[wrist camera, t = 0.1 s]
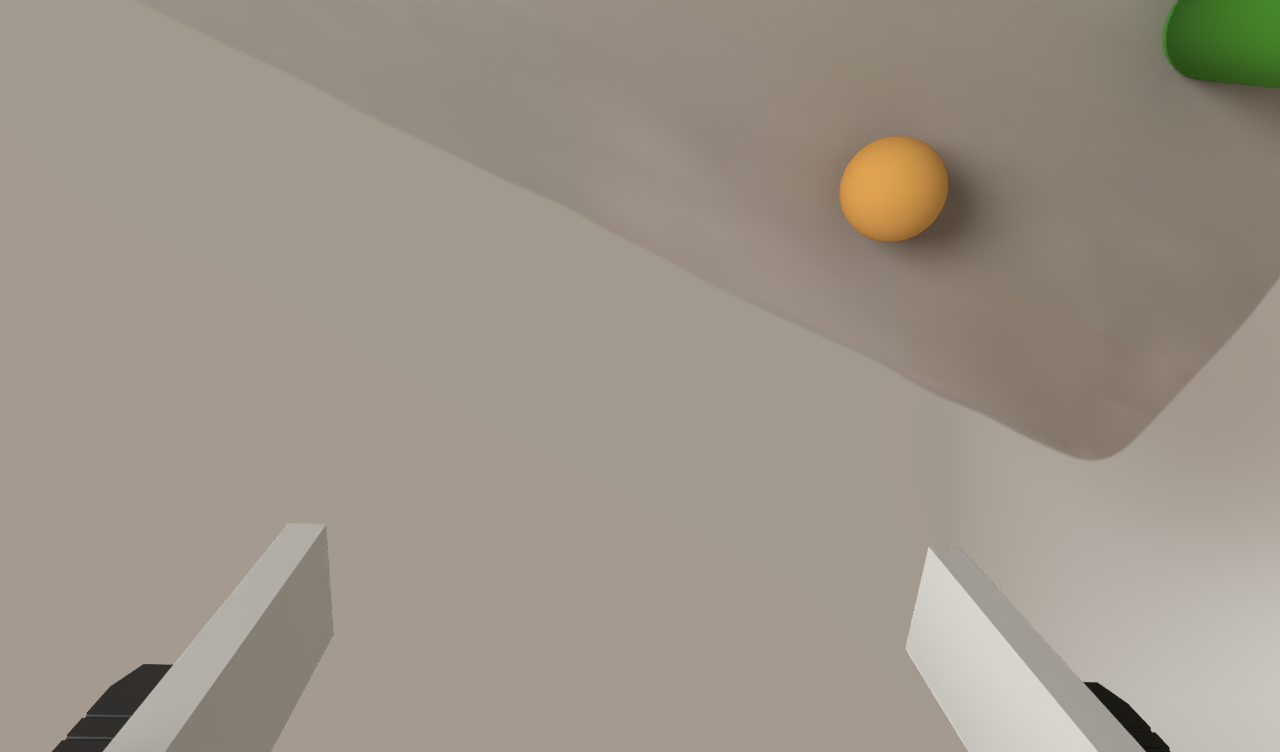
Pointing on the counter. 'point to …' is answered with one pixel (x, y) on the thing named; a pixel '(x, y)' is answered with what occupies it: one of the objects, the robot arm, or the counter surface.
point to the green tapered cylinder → (1225, 40)
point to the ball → (893, 188)
